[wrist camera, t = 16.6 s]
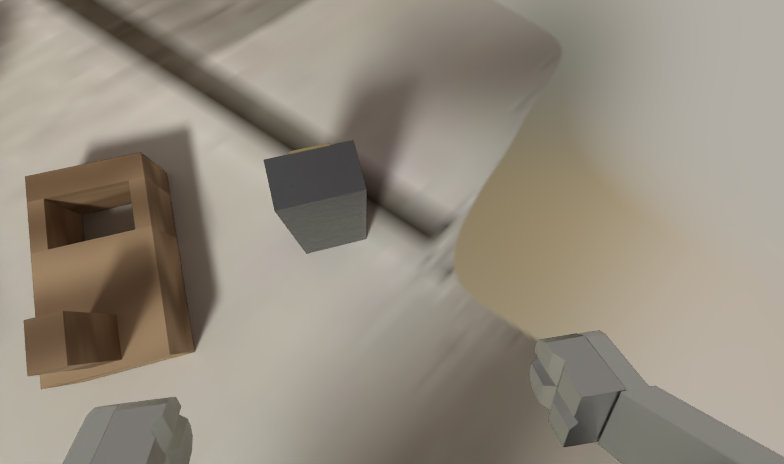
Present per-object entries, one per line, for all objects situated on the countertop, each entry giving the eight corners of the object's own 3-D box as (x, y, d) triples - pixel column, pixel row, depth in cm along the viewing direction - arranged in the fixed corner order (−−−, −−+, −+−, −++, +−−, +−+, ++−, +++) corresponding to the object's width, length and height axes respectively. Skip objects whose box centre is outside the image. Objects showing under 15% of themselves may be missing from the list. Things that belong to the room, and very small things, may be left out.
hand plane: (194, 351, 31) (126, 359, 22) (83, 382, 30) (-34, 402, 21) (166, 172, 34) (97, 117, 25) (65, 194, 33) (-43, 145, 24)
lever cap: (366, 238, 34) (366, 189, 22) (306, 253, 33) (274, 210, 22) (355, 196, 35) (349, 127, 23) (296, 210, 34) (260, 146, 22)
